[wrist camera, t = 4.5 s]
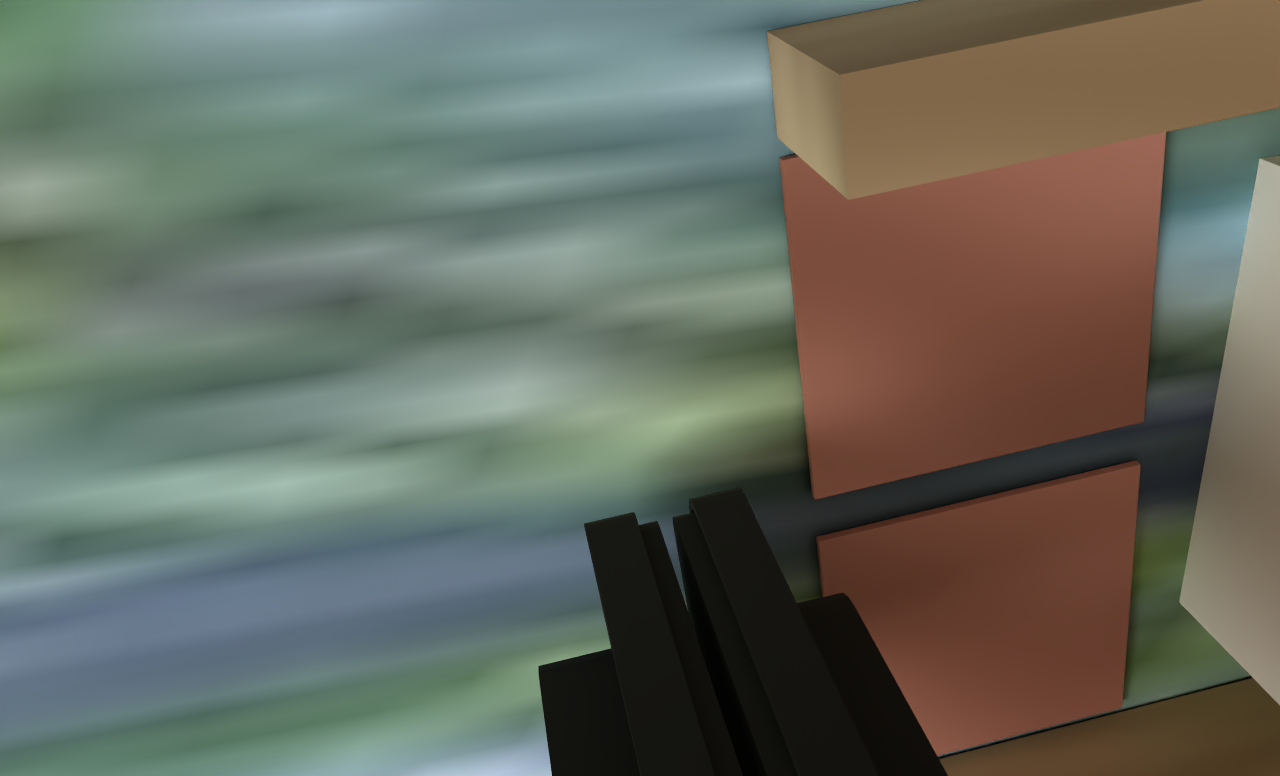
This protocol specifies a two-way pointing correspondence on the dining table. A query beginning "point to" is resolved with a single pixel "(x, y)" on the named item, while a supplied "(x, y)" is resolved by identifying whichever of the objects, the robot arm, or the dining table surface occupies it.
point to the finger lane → (1003, 347)
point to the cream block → (1245, 462)
